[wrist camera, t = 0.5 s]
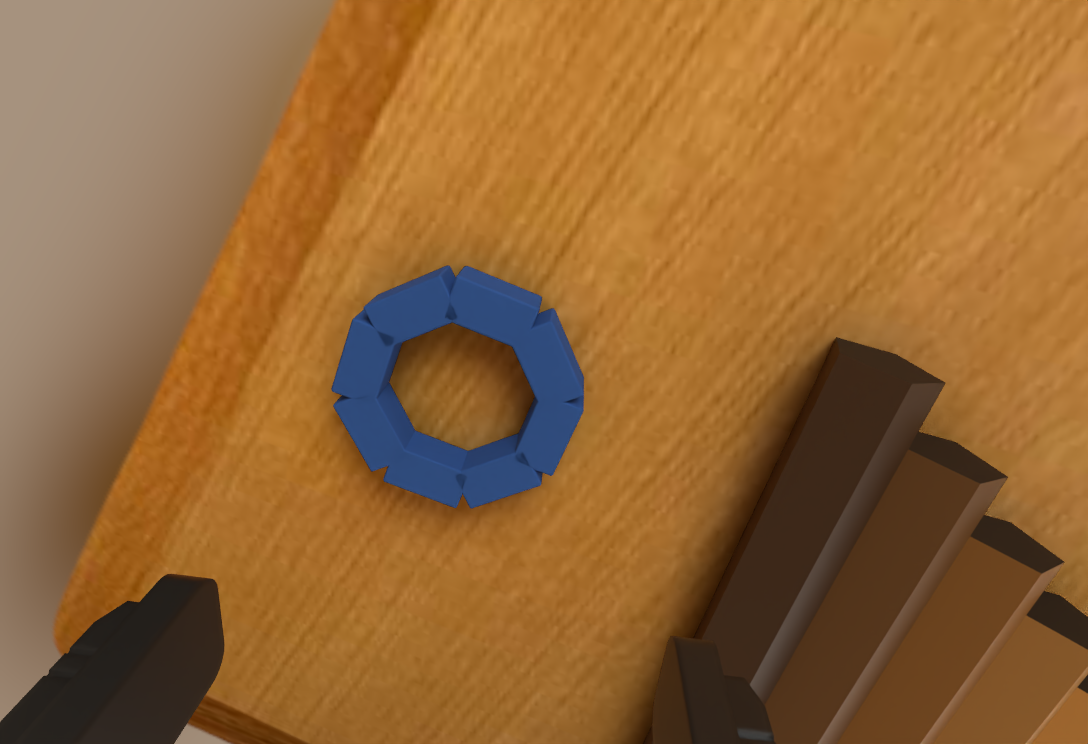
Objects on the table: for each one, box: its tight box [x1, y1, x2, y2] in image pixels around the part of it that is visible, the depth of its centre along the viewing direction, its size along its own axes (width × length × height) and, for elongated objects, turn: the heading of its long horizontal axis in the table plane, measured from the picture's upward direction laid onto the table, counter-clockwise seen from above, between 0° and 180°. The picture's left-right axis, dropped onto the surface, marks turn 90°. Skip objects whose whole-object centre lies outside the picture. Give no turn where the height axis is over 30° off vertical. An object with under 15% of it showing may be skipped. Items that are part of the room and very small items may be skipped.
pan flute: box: [643, 337, 1088, 744], centre depth 26 cm, size 25×3×25 cm
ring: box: [332, 266, 584, 508], centre depth 23 cm, size 8×8×2 cm
